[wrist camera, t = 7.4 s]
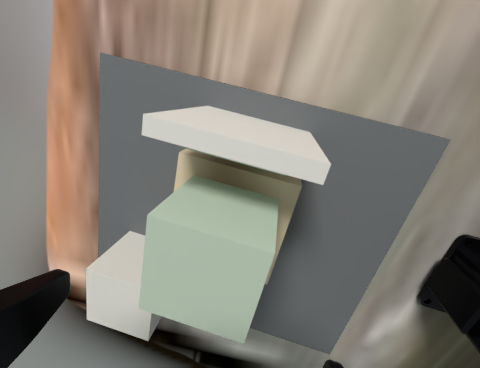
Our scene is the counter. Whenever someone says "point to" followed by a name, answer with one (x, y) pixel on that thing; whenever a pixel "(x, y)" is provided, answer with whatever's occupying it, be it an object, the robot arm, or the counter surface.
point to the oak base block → (243, 184)
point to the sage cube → (209, 256)
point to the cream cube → (120, 288)
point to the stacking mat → (273, 160)
